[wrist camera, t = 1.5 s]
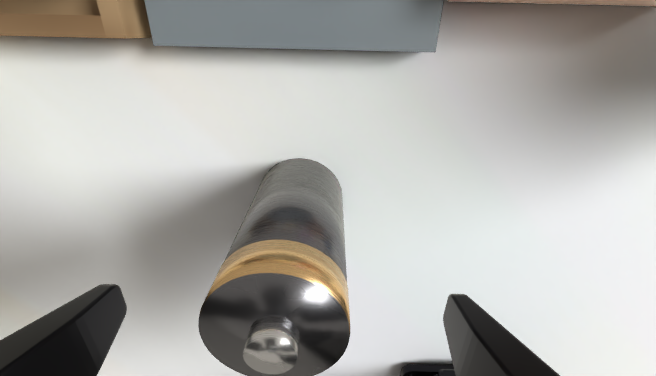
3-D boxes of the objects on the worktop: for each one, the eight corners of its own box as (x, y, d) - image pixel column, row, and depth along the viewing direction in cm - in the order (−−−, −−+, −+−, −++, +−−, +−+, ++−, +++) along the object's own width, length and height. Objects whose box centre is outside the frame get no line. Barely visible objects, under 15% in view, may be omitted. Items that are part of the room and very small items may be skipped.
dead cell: (340, 232, 15) (347, 407, 8) (262, 230, 15) (201, 403, 8) (344, 159, 13) (356, 298, 6) (256, 156, 13) (172, 294, 6)
